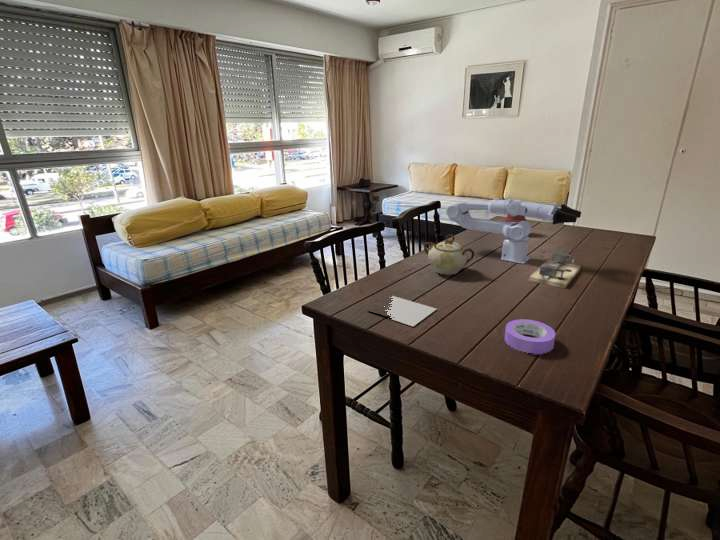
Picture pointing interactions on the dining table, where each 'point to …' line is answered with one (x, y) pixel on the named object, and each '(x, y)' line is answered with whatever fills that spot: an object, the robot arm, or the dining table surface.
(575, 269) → the hole board
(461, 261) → the cream teapot
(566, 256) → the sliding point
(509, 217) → the mechanical component
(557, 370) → the dining table surface
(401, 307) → the paper stack
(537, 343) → the masking tape
